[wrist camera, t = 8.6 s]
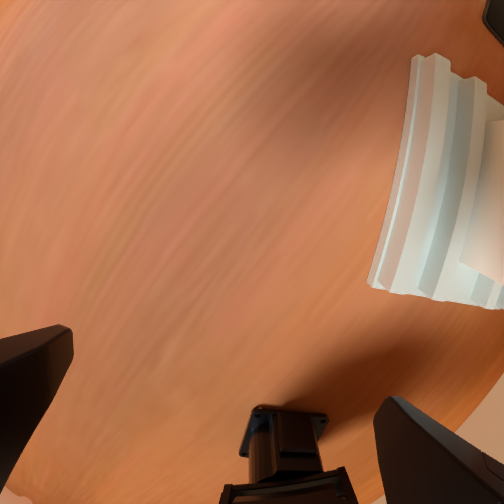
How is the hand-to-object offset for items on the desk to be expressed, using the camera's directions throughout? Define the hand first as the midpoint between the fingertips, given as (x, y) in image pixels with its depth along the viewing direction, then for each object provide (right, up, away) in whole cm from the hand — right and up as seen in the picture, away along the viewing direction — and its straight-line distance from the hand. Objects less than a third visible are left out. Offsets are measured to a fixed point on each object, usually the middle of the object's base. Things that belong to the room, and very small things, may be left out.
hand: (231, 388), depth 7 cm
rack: (+17, +8, +10) cm, 21 cm away
